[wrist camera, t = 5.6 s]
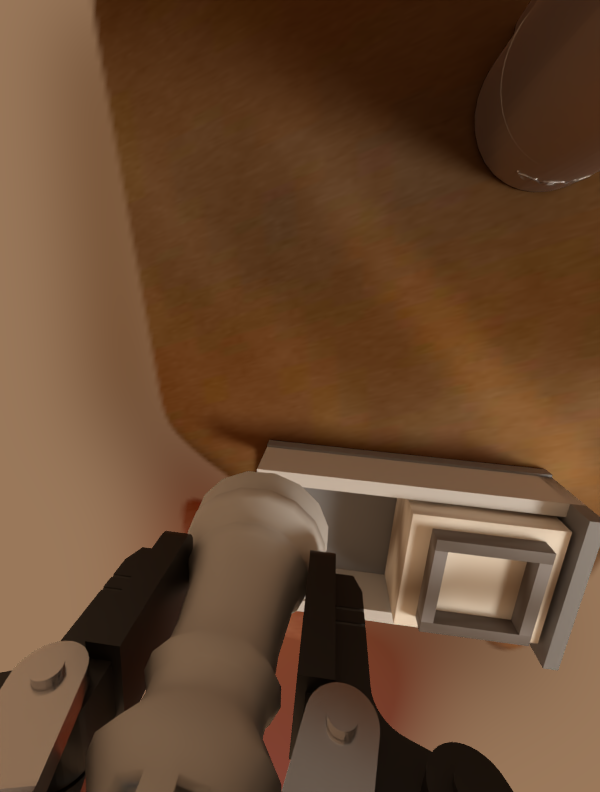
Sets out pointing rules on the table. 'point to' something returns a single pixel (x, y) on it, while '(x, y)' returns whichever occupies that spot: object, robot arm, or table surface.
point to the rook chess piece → (219, 649)
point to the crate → (473, 570)
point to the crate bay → (443, 483)
